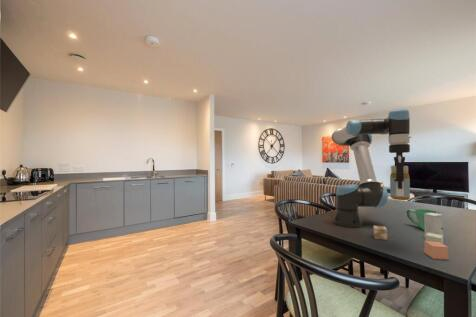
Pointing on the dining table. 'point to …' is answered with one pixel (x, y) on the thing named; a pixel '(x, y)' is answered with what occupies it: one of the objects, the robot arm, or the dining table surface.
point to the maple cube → (380, 232)
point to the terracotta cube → (436, 250)
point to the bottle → (406, 184)
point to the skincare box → (433, 223)
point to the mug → (419, 216)
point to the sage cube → (434, 237)
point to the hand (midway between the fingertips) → (399, 194)
